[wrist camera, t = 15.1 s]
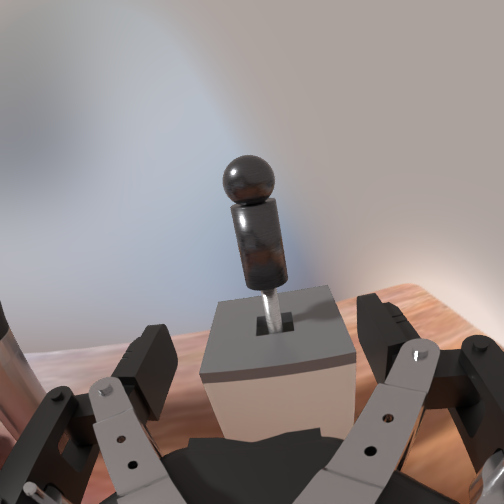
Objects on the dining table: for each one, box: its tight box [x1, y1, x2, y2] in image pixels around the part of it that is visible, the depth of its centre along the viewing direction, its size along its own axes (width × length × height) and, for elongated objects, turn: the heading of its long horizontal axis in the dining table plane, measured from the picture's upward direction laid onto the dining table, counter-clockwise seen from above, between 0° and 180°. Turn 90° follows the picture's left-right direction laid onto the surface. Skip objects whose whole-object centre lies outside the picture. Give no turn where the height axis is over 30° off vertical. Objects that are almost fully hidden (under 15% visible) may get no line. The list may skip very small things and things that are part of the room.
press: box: [199, 285, 356, 442], centre depth 27 cm, size 12×12×17 cm
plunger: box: [223, 155, 288, 335], centre depth 25 cm, size 8×8×27 cm
